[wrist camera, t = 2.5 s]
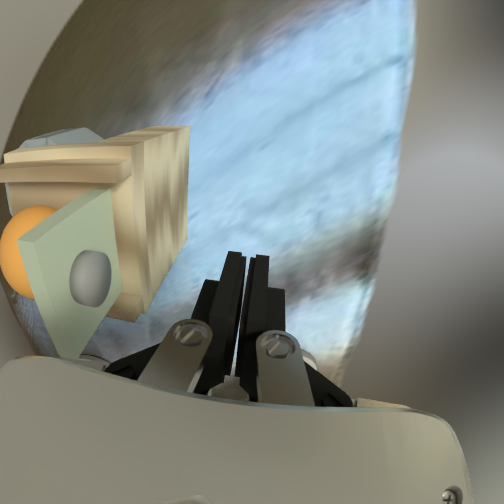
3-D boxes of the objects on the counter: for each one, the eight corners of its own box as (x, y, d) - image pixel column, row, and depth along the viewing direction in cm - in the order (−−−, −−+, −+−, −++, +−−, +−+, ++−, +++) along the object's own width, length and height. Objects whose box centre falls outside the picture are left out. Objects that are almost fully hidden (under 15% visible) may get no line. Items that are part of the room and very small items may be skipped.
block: (135, 291, 16) (90, 367, 11) (108, 286, 16) (59, 356, 11) (124, 188, 13) (49, 245, 8) (94, 187, 13) (16, 239, 8)
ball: (103, 274, 16) (60, 329, 11) (45, 262, 16) (0, 307, 12) (91, 193, 13) (30, 235, 9) (30, 191, 13) (-27, 226, 9)
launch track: (187, 239, 26) (136, 330, 16) (94, 228, 26) (21, 298, 16) (190, 126, 21) (115, 152, 11) (86, 128, 21) (-13, 160, 11)
